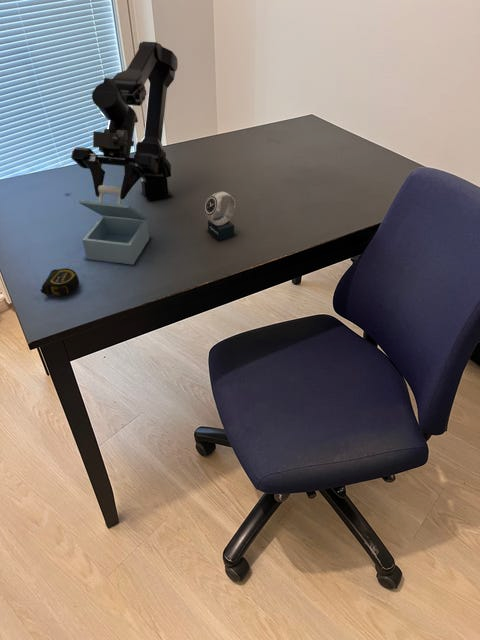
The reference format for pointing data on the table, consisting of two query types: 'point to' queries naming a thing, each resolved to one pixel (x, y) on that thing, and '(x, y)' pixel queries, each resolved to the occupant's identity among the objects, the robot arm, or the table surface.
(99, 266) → the table surface
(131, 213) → the compartment lid
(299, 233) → the table surface
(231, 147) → the table surface
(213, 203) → the watch
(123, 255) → the compartment
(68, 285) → the tape measure
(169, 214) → the table surface
